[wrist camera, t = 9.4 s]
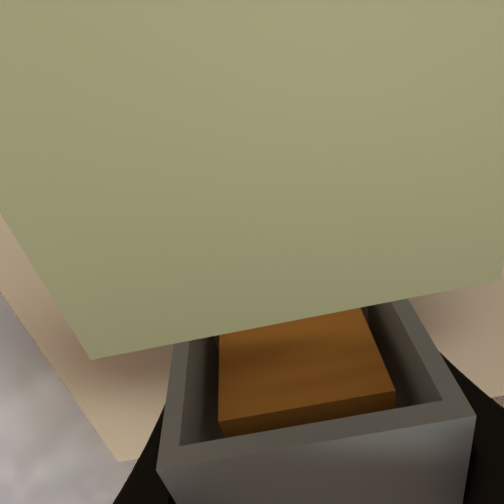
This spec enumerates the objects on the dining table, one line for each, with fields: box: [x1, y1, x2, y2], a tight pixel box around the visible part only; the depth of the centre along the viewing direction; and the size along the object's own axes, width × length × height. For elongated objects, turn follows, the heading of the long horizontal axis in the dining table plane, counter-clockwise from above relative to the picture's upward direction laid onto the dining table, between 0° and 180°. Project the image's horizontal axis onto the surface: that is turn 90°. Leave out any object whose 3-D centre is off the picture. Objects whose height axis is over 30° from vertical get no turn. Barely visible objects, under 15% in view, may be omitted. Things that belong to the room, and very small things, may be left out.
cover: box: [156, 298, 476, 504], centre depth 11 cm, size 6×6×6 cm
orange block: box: [218, 308, 396, 438], centre depth 12 cm, size 4×4×4 cm
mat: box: [0, 214, 504, 462], centre depth 12 cm, size 18×16×1 cm
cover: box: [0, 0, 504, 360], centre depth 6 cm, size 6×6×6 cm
